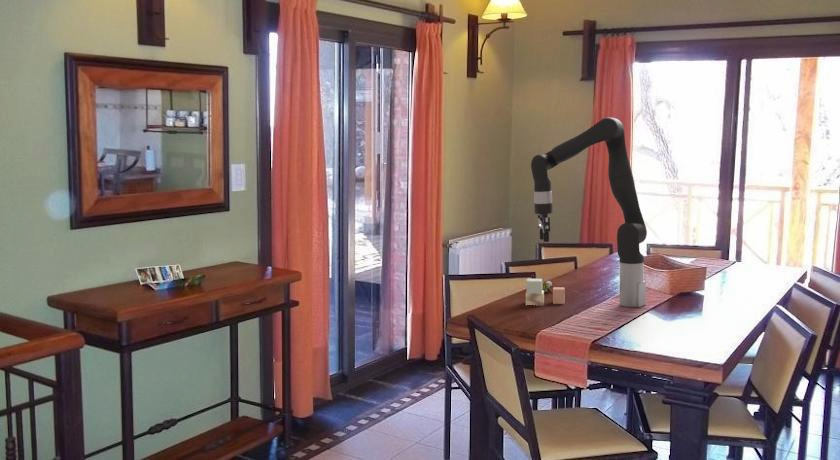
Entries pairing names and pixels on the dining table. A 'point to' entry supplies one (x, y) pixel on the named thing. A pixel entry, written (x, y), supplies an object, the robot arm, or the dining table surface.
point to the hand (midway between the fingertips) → (544, 240)
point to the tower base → (535, 299)
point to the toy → (546, 285)
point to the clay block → (558, 295)
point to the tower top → (534, 286)
